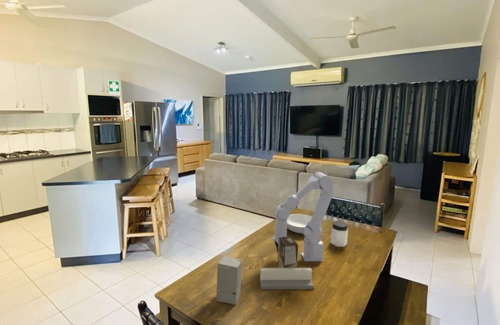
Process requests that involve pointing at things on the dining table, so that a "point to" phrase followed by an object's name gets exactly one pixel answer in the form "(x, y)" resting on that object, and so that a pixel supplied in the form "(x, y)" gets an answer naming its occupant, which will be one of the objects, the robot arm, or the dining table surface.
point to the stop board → (286, 278)
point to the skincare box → (229, 280)
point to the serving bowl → (298, 222)
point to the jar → (339, 233)
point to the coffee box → (287, 252)
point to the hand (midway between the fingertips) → (280, 255)
